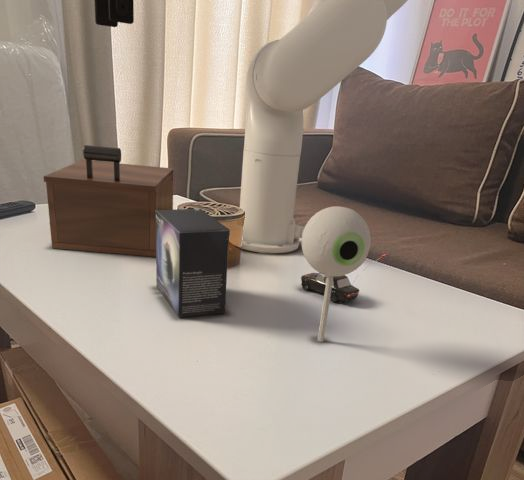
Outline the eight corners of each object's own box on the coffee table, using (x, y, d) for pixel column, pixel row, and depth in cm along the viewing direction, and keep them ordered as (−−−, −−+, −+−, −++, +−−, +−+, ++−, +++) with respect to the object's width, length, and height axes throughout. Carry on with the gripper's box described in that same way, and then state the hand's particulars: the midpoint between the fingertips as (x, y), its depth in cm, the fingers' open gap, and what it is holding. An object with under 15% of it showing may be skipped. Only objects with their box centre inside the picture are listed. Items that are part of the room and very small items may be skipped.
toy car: (314, 283, 77) (322, 230, 74) (381, 310, 70) (393, 252, 66) (296, 287, 75) (303, 232, 71) (364, 316, 67) (376, 256, 64)
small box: (152, 287, 70) (152, 207, 65) (199, 284, 72) (202, 207, 68) (175, 318, 61) (177, 229, 57) (227, 313, 64) (232, 228, 59)
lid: (155, 191, 76) (155, 153, 74) (43, 181, 76) (40, 142, 73) (173, 173, 93) (173, 141, 91) (82, 164, 92) (80, 132, 90)
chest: (156, 257, 82) (156, 191, 77) (51, 248, 81) (45, 181, 76) (172, 229, 98) (173, 173, 93) (85, 221, 97) (82, 165, 92)
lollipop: (301, 356, 56) (321, 214, 49) (281, 328, 62) (296, 198, 55) (362, 353, 58) (389, 216, 51) (336, 326, 64) (357, 200, 57)
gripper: (157, -143, 62) (156, 25, 70) (123, -107, 76) (125, 30, 83) (91, -162, 59) (98, 16, 67) (68, -121, 73) (76, 23, 80)
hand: (113, 24), depth 75 cm, fingers open, 9 cm apart
